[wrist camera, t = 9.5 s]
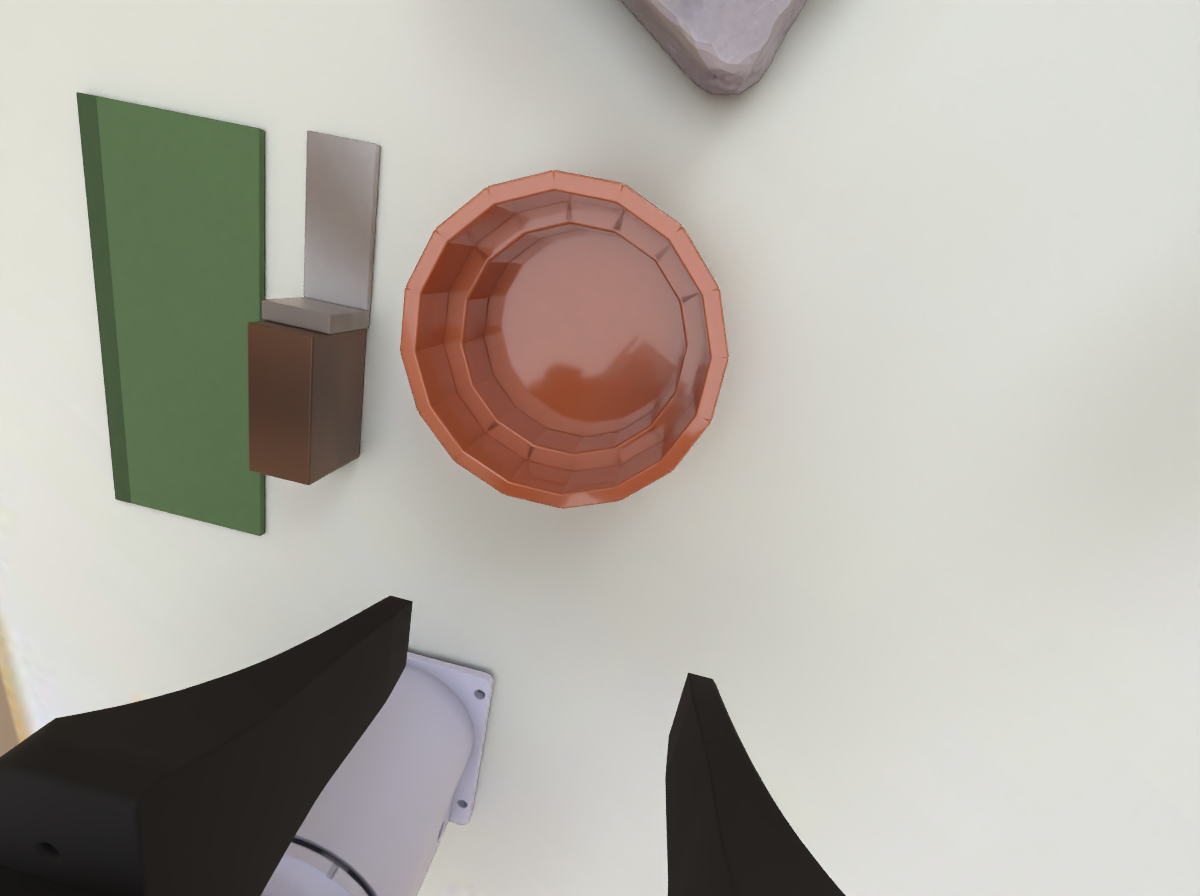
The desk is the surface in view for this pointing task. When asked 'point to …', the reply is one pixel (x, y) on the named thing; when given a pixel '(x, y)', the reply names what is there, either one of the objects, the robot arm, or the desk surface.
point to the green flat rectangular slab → (177, 303)
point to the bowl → (564, 339)
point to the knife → (318, 325)
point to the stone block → (719, 37)
